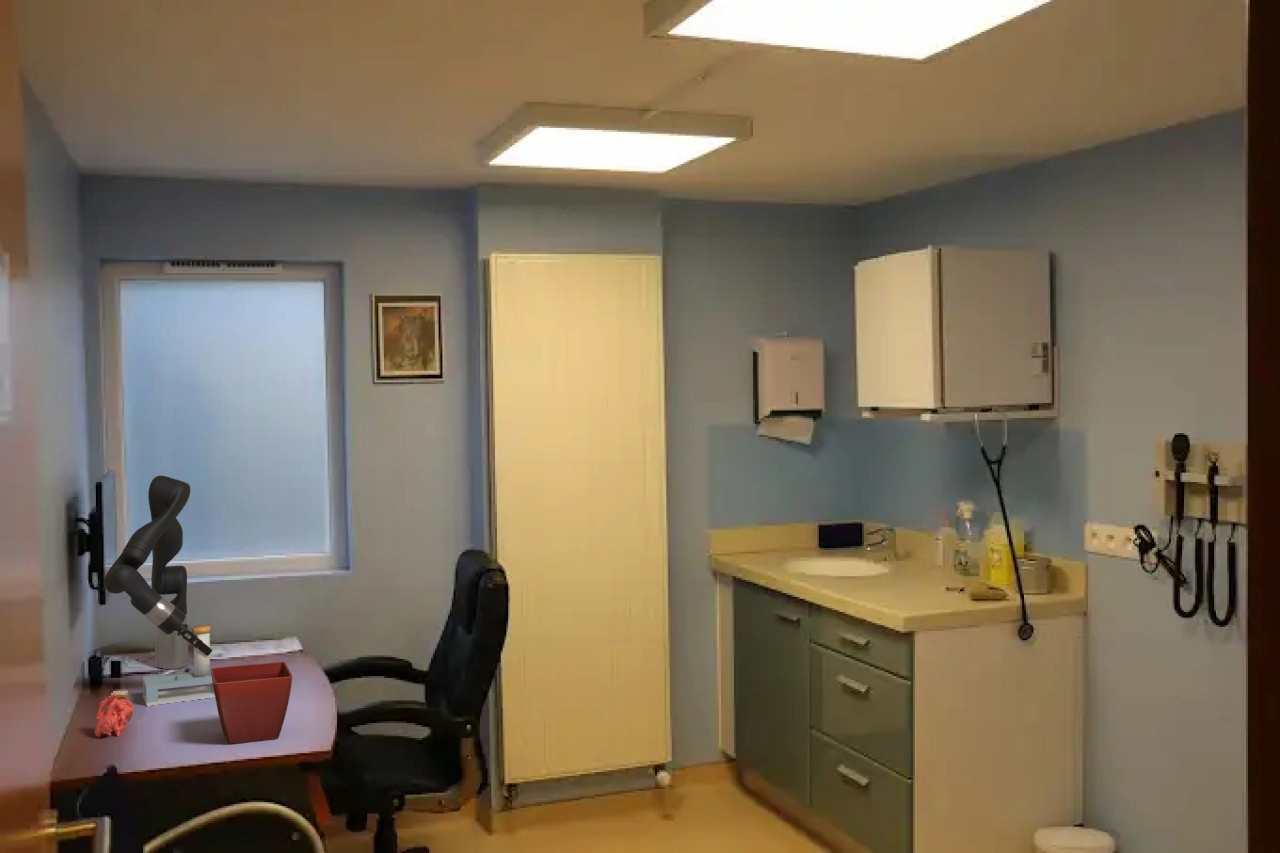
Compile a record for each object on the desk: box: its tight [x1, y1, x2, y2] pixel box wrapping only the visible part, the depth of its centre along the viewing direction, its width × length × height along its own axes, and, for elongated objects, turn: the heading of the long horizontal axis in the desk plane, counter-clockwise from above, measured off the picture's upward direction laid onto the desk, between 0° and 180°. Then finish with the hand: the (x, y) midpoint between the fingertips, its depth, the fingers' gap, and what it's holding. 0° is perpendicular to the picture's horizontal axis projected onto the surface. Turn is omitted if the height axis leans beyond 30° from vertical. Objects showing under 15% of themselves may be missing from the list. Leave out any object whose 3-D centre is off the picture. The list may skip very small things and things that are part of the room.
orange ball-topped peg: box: [191, 625, 211, 676], centre depth 344 cm, size 5×5×14 cm
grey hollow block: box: [142, 668, 215, 707], centre depth 342 cm, size 22×12×6 cm, turn 118°
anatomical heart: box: [94, 692, 134, 738], centre depth 305 cm, size 9×12×12 cm
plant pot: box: [210, 661, 293, 744], centre depth 302 cm, size 19×19×17 cm
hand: (208, 651), depth 345 cm, fingers closed on orange ball-topped peg, 4 cm apart
